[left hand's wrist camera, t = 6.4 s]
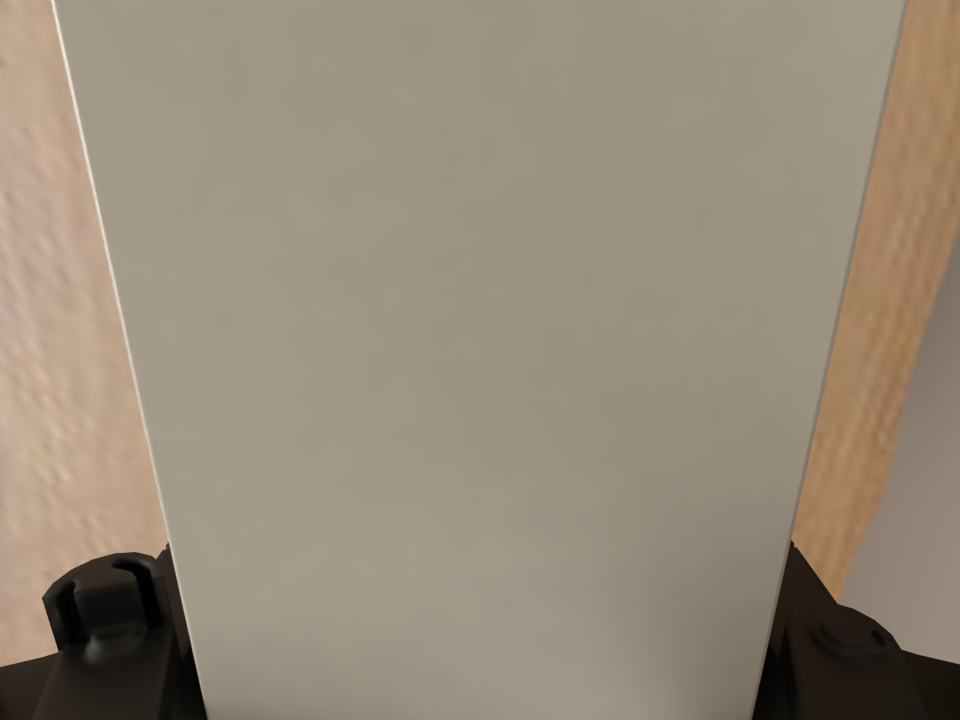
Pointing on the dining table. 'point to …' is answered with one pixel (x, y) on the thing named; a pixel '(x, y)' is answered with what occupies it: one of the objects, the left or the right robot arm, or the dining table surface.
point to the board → (479, 333)
